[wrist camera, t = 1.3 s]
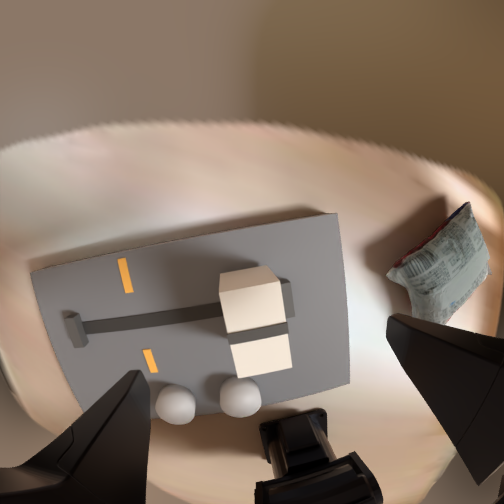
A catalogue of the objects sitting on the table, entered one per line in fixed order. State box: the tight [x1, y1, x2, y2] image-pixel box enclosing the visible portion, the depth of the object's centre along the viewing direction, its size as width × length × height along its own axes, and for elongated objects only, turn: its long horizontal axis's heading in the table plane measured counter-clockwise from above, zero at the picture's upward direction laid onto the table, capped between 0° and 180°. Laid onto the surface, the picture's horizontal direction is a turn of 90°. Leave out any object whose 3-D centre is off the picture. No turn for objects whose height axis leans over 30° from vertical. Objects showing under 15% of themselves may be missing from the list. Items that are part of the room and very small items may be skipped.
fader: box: [219, 265, 292, 378], centre depth 16 cm, size 3×5×5 cm, turn 10°
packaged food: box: [386, 202, 492, 325], centre depth 20 cm, size 9×12×5 cm
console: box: [30, 213, 350, 425], centre depth 19 cm, size 24×14×4 cm, turn 100°
